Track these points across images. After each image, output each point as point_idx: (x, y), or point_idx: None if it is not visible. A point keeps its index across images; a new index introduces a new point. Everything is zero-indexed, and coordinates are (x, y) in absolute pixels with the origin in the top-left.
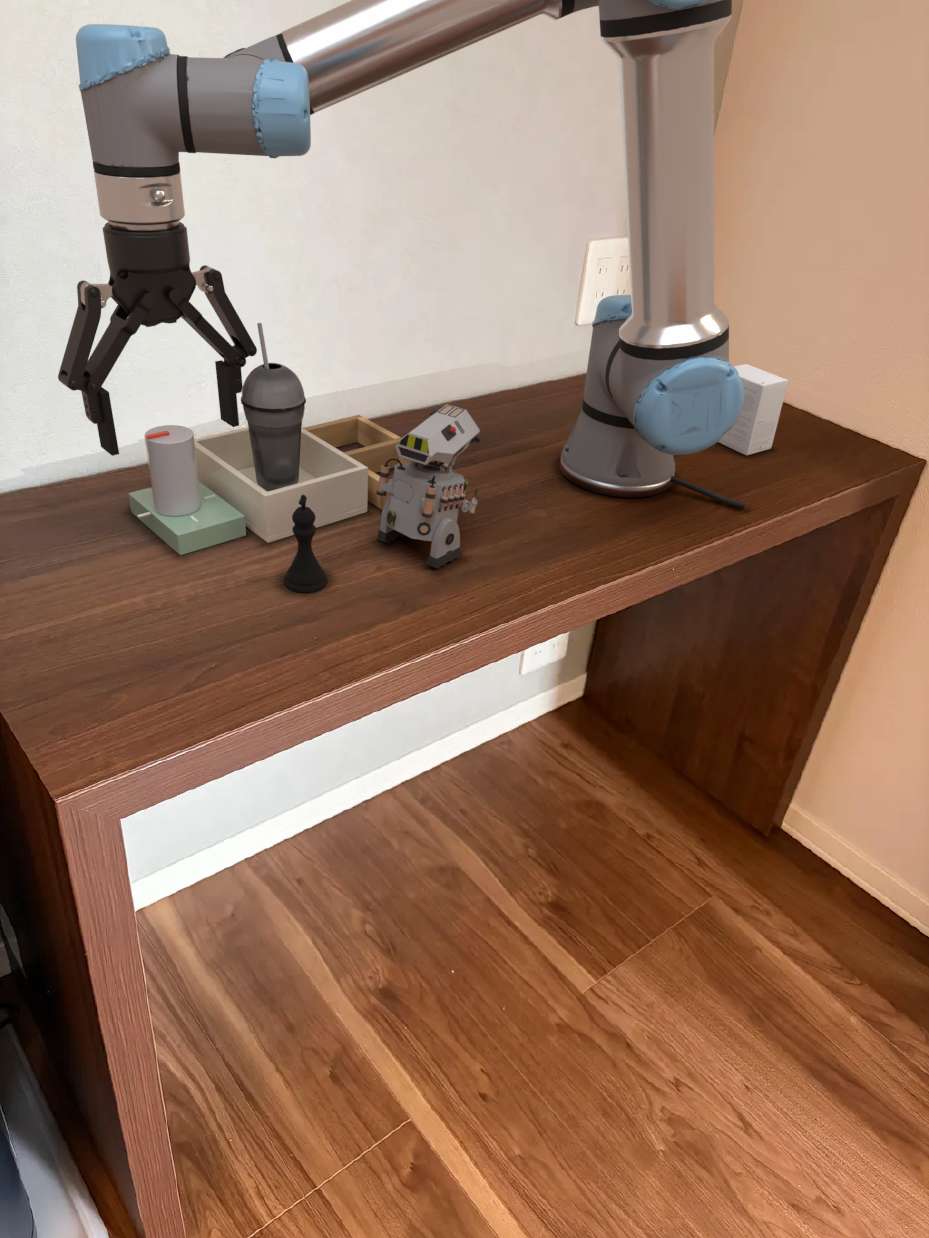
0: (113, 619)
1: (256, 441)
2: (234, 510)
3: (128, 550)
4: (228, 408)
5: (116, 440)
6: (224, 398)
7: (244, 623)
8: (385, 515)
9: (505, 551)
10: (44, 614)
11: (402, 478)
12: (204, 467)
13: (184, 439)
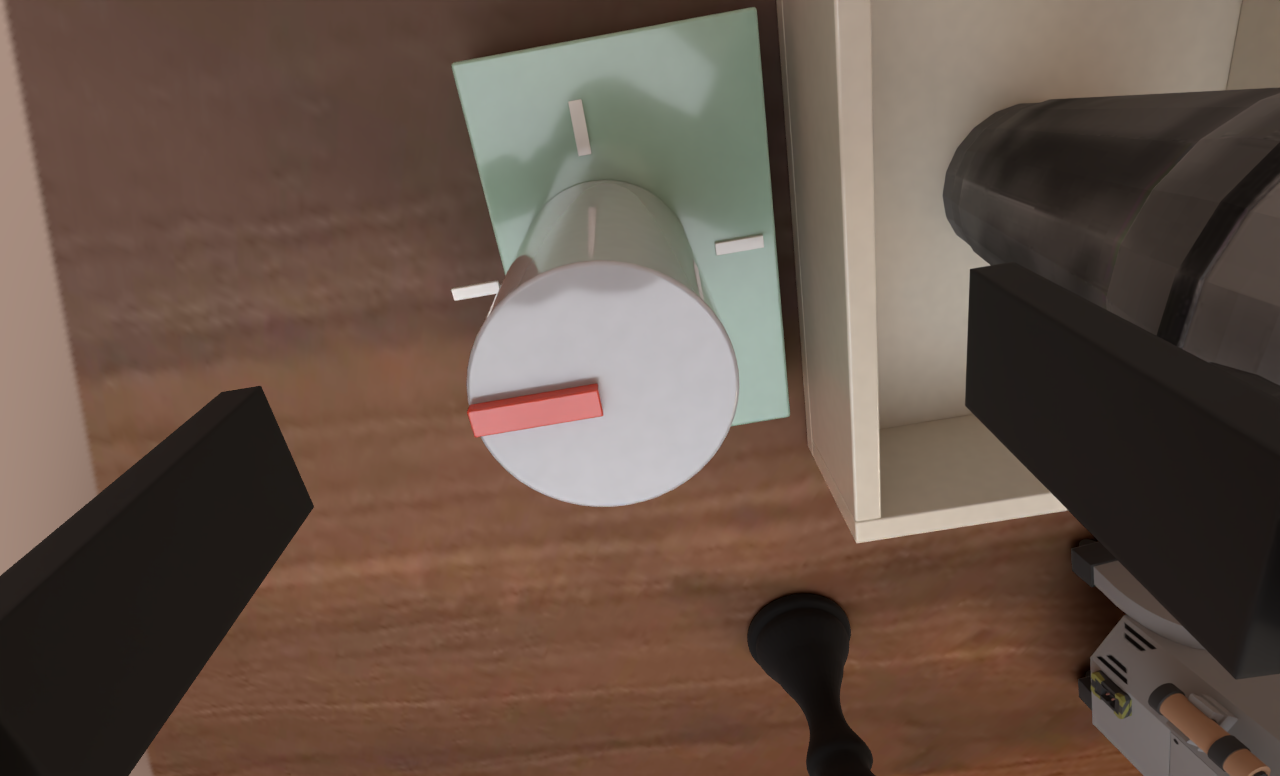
0: (345, 615)
1: None
2: (776, 373)
3: (419, 333)
4: (1017, 425)
5: (277, 557)
6: (1054, 407)
7: (608, 708)
8: (1133, 613)
9: None
10: None
11: None
12: (812, 45)
13: (657, 486)
